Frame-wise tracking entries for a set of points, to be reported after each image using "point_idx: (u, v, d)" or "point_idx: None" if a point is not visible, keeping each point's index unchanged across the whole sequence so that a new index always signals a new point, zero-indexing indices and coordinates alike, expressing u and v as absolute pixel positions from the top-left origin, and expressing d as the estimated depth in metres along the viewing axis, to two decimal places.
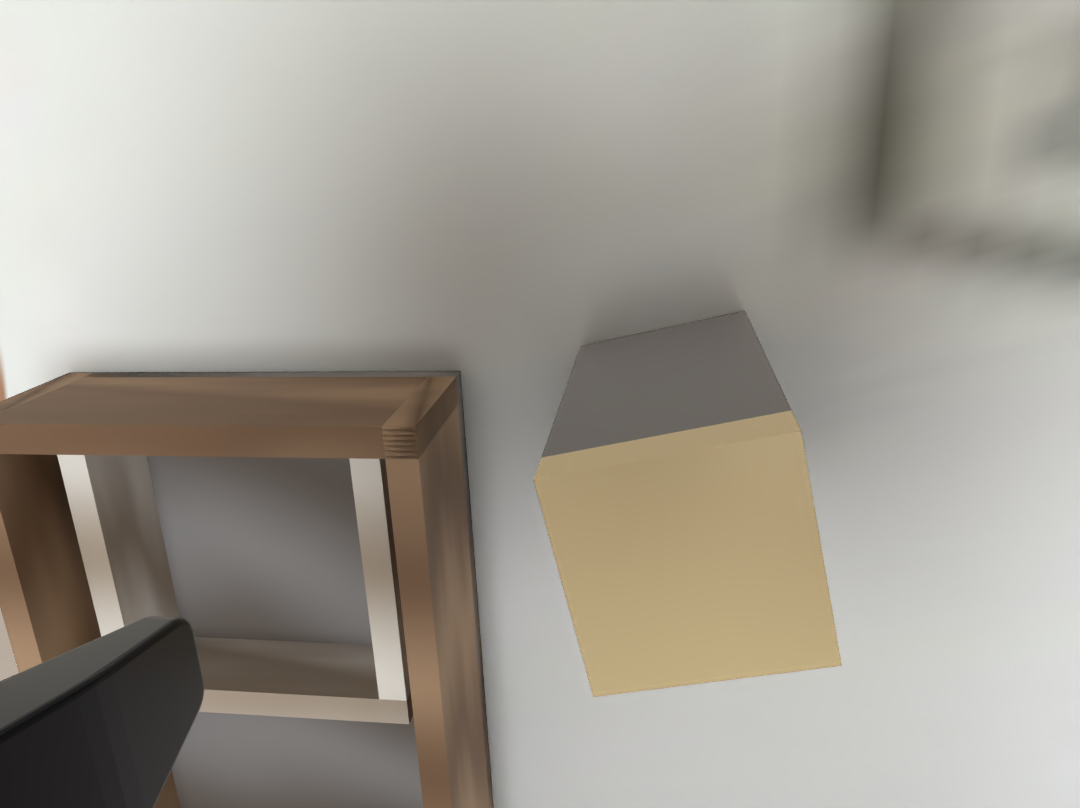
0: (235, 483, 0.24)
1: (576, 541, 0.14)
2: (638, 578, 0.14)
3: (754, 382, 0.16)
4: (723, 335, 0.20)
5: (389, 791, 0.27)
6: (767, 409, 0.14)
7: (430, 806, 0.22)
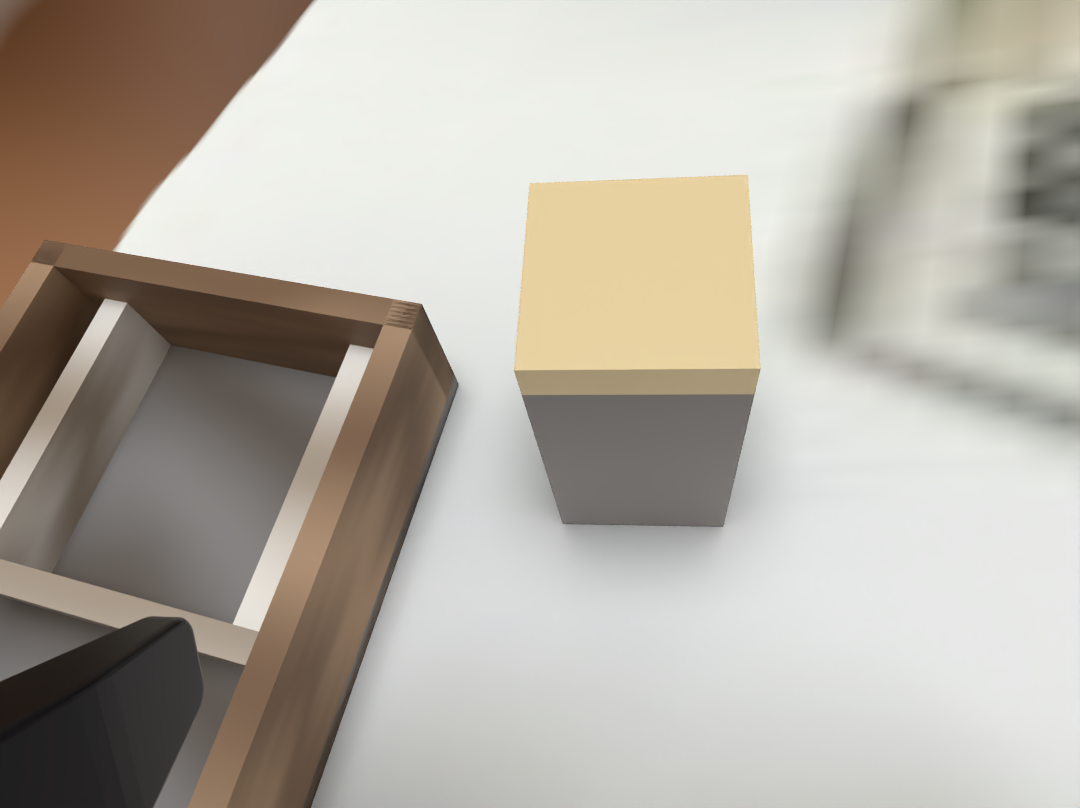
0: (209, 429, 0.25)
1: (547, 231, 0.16)
2: (590, 267, 0.16)
3: None
4: None
5: None
6: None
7: (227, 731, 0.17)
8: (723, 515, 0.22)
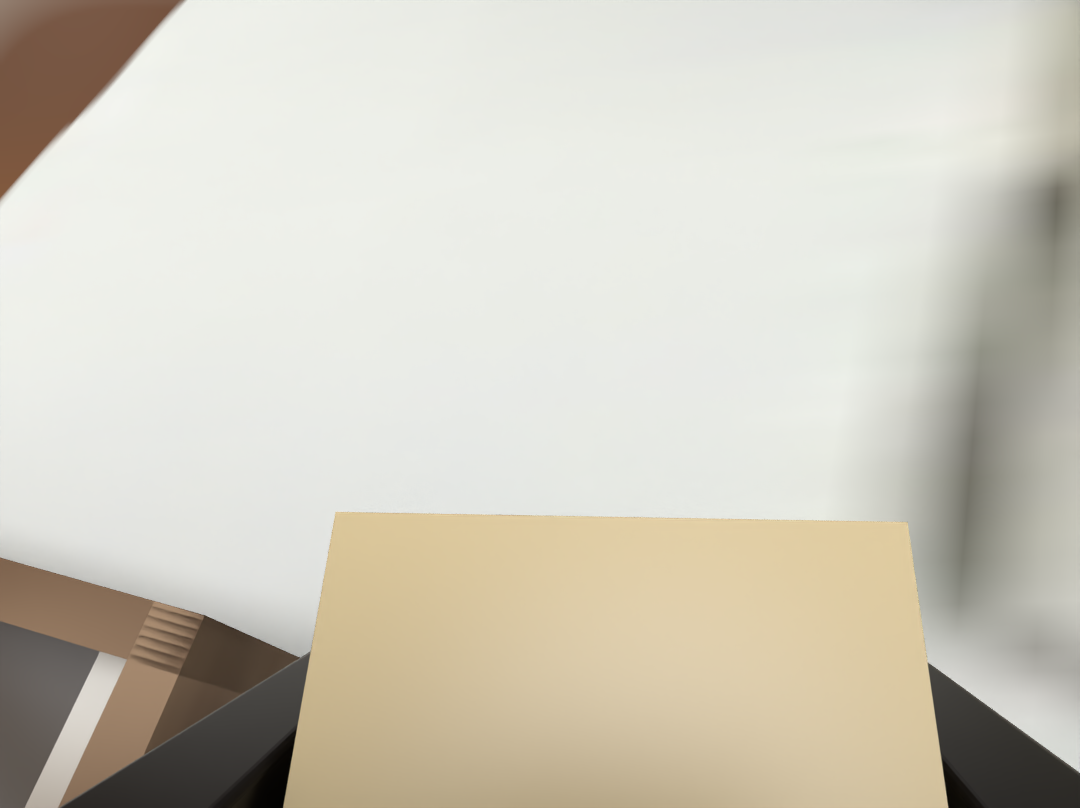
0: None
1: (364, 675, 0.06)
2: None
3: None
4: None
5: None
6: None
7: None
8: None
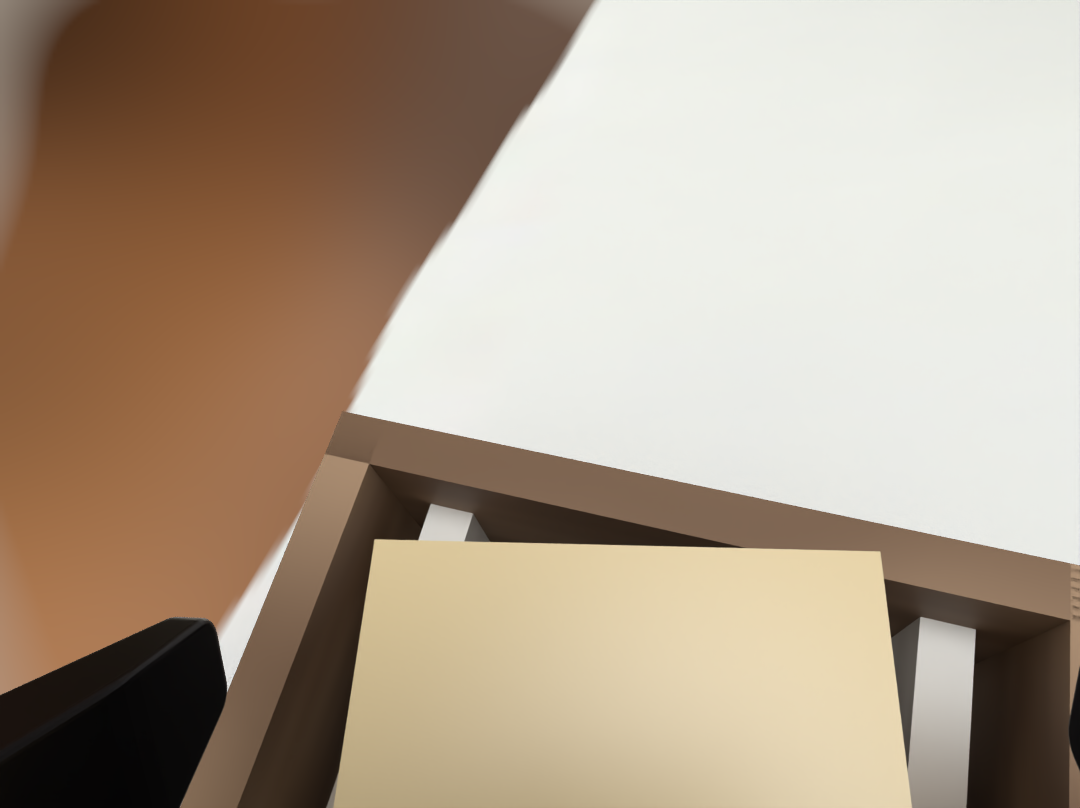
0: None
1: (403, 685, 0.07)
2: None
3: None
4: None
5: None
6: None
7: None
8: None
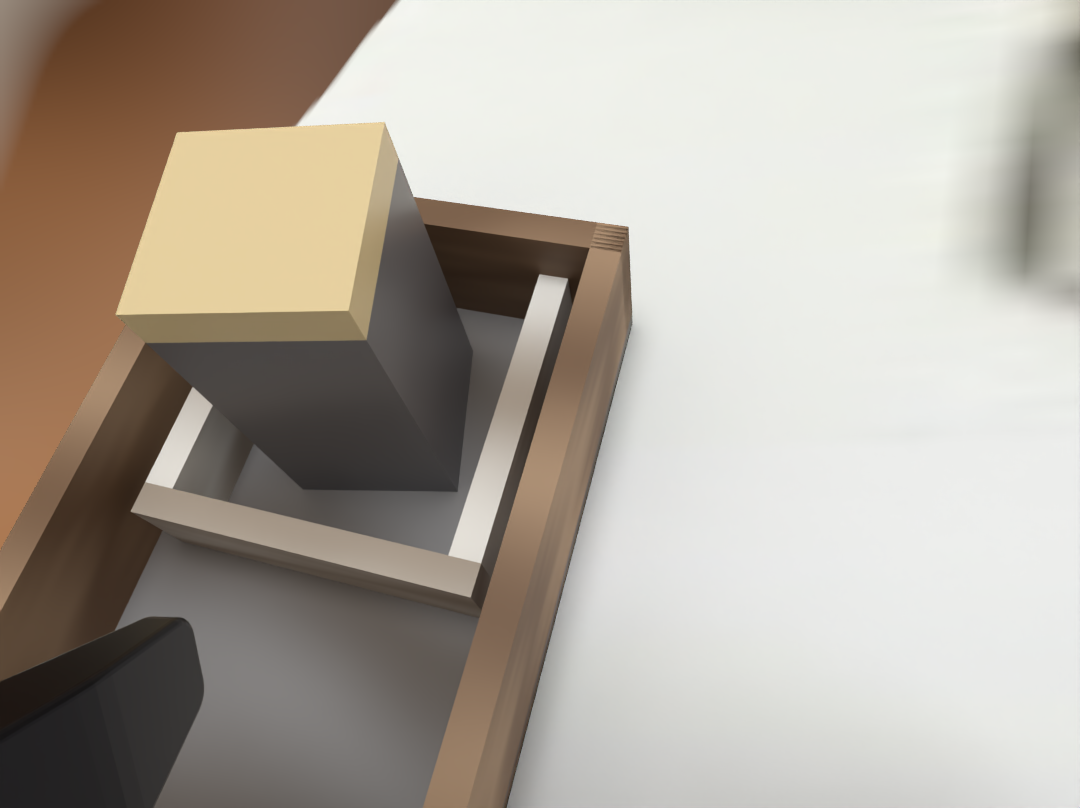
0: None
1: (182, 179, 0.16)
2: (213, 213, 0.16)
3: None
4: None
5: None
6: None
7: (478, 657, 0.16)
8: (447, 479, 0.21)
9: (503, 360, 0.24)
